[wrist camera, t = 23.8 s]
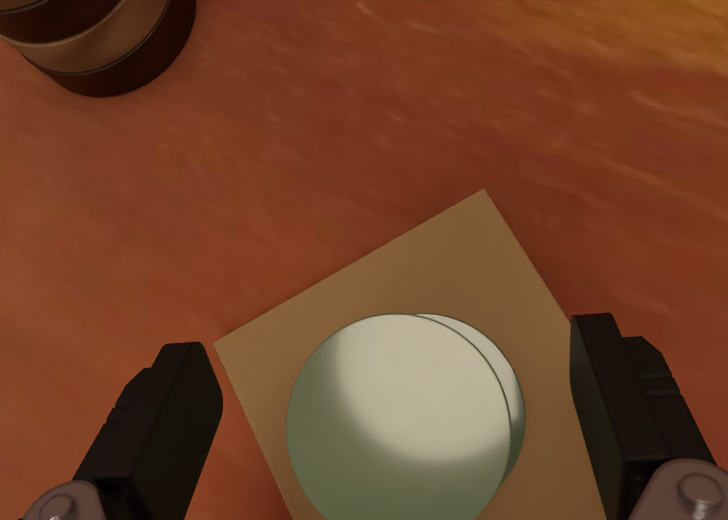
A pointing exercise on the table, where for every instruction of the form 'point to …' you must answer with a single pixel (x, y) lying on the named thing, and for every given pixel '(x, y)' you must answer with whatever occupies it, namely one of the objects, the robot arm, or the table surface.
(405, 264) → the mat
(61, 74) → the stack
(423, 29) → the table surface
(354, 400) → the ring spool
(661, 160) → the table surface
